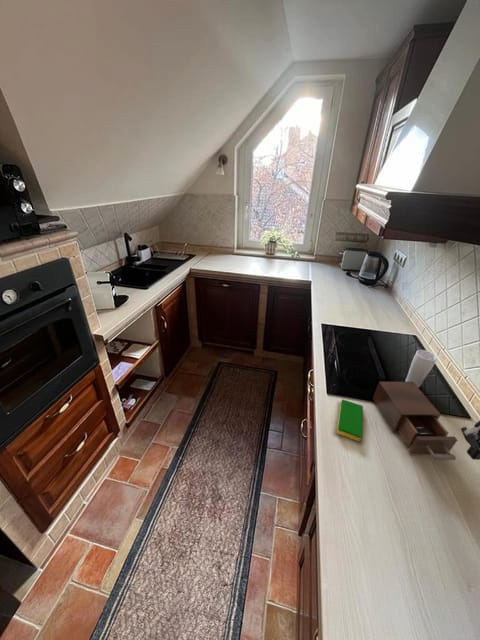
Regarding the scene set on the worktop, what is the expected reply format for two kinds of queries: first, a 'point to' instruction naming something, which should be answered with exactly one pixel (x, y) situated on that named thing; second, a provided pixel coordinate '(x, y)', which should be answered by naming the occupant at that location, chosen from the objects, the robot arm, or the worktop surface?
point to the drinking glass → (420, 367)
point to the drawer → (427, 445)
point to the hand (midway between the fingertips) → (472, 456)
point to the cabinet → (402, 402)
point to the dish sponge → (350, 420)
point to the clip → (424, 432)
